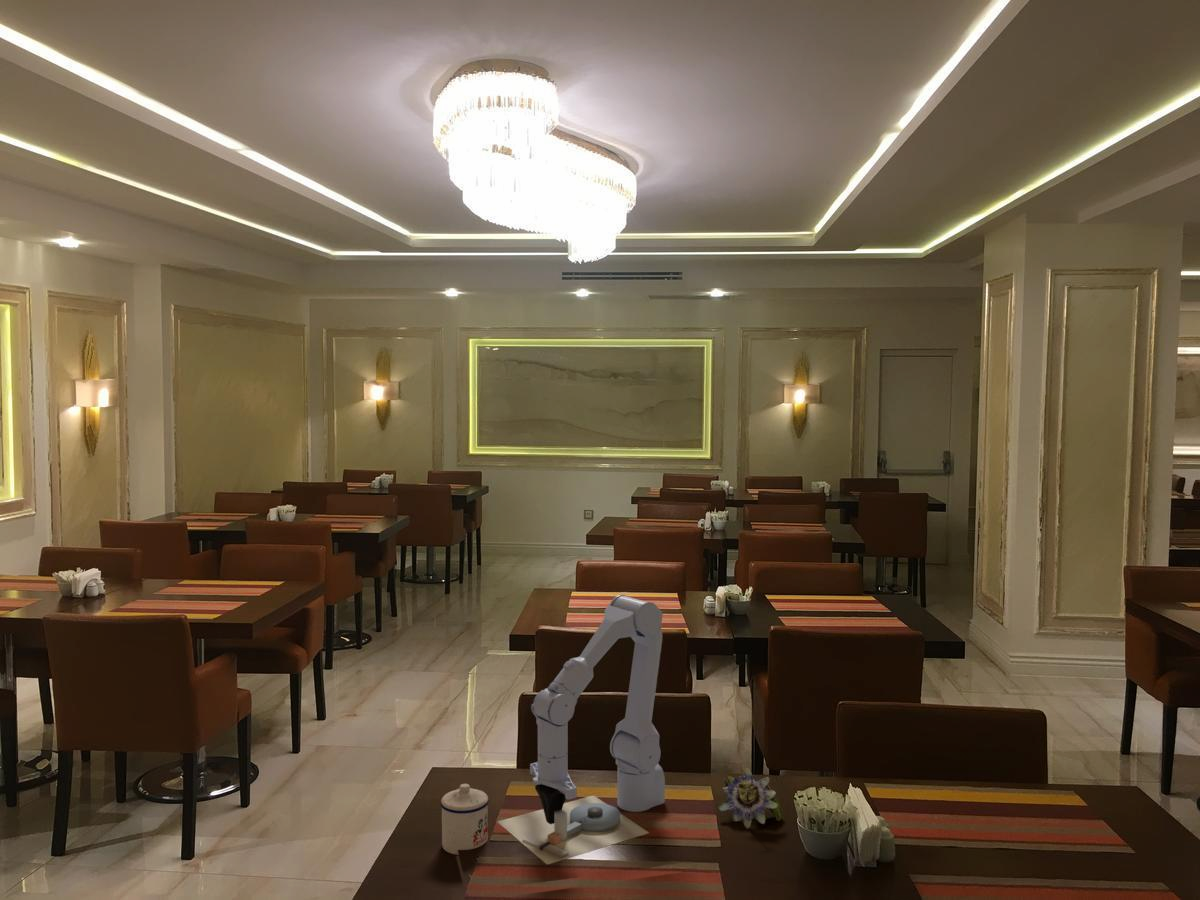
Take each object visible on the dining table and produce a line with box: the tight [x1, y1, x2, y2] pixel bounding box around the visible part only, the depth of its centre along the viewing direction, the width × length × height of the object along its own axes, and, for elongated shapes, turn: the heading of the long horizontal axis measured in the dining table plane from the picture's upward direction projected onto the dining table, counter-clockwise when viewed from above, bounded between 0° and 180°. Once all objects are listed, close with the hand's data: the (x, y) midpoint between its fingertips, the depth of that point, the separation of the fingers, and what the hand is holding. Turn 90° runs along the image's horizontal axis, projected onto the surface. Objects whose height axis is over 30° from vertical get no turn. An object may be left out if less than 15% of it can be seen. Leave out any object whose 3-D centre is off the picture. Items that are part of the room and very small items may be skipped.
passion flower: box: [717, 768, 783, 830], centre depth 192 cm, size 11×11×12 cm
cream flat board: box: [496, 795, 650, 865], centre depth 186 cm, size 23×20×2 cm
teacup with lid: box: [439, 783, 490, 856], centre depth 182 cm, size 12×9×12 cm
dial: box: [547, 803, 621, 845], centre depth 186 cm, size 18×10×5 cm, turn 139°
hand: (552, 821), depth 183 cm, fingers closed
